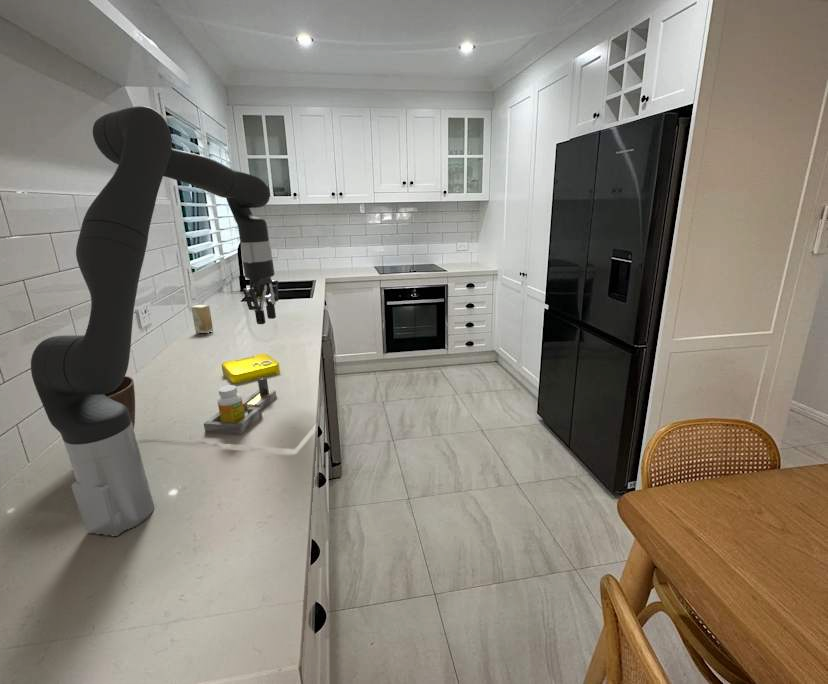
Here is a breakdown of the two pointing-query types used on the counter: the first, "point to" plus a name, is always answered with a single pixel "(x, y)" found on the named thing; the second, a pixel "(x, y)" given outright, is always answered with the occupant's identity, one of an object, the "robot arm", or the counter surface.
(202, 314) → the skincare box
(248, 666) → the counter surface
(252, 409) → the docking base
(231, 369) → the element tile
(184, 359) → the counter surface
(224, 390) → the supplement bottle
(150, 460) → the counter surface
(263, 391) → the locking bolt
